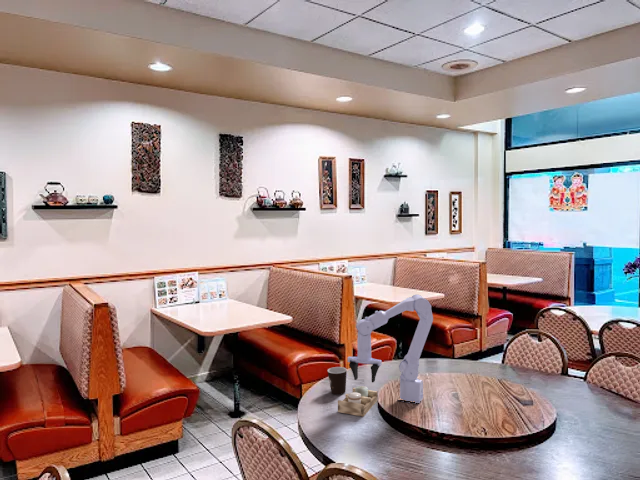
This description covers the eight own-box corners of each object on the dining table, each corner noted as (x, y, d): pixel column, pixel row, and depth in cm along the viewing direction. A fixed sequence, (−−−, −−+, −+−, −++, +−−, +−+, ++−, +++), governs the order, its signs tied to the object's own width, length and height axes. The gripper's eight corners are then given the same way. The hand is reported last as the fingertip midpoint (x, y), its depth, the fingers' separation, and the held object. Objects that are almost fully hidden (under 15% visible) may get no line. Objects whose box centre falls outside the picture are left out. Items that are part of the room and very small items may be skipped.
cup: (362, 406, 201) (363, 393, 201) (358, 411, 196) (358, 397, 196) (350, 404, 203) (350, 391, 203) (346, 409, 199) (346, 395, 198)
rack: (377, 401, 209) (377, 386, 209) (363, 416, 194) (363, 400, 193) (353, 397, 214) (353, 383, 213) (337, 412, 198) (337, 396, 198)
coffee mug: (346, 395, 216) (345, 373, 215) (327, 395, 217) (325, 373, 217) (350, 386, 227) (349, 364, 226) (331, 385, 229) (330, 364, 228)
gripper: (344, 349, 206) (345, 381, 206) (377, 352, 200) (378, 385, 200) (350, 345, 212) (351, 376, 213) (383, 348, 206) (383, 380, 207)
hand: (364, 380), depth 207 cm, fingers open, 7 cm apart
